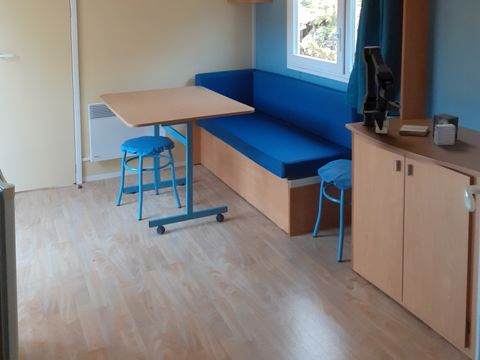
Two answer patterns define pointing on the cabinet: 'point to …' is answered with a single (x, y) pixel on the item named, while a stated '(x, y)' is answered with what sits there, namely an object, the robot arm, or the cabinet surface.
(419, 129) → the beige flat square slab
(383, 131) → the maple cube
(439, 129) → the medicine box
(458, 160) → the cabinet surface
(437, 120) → the small box
